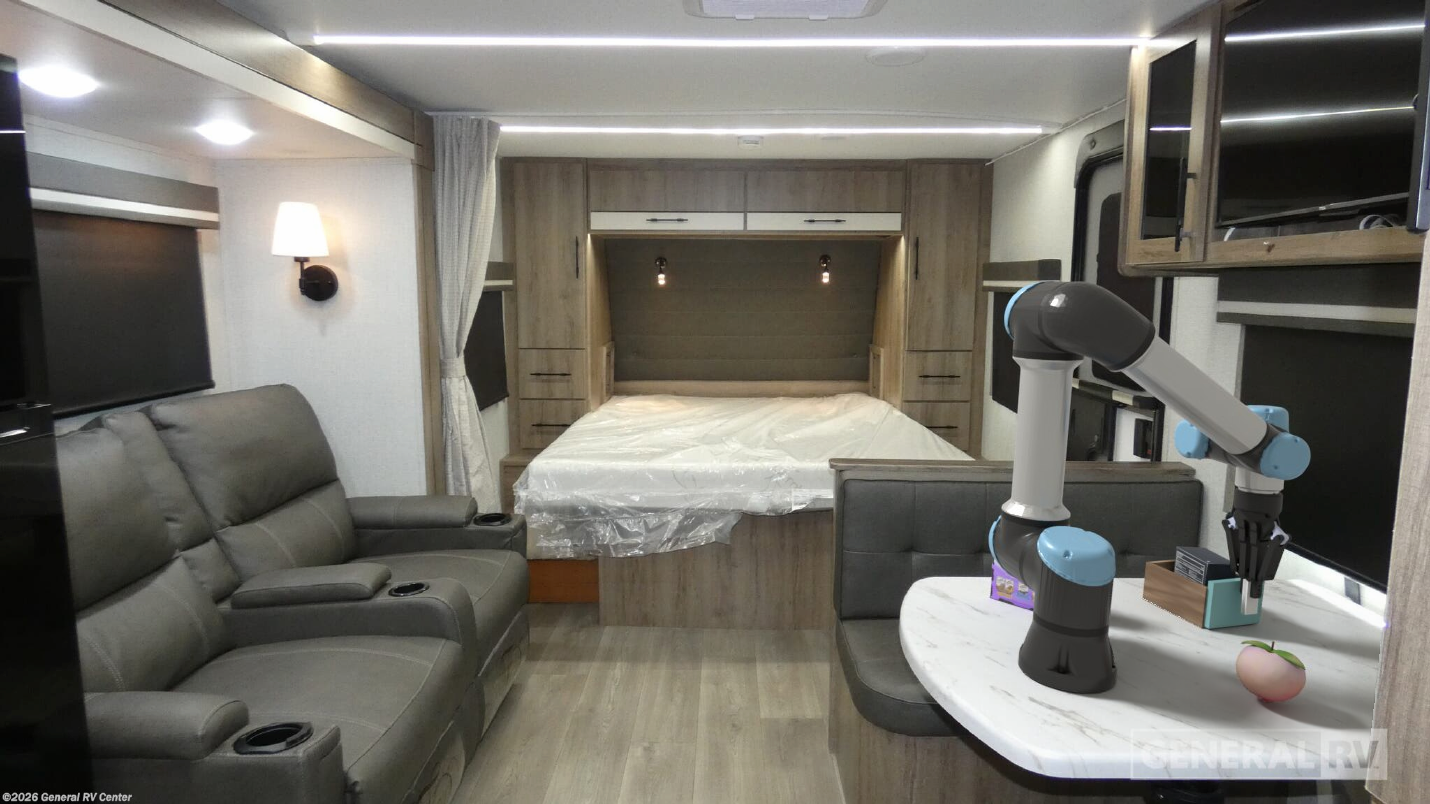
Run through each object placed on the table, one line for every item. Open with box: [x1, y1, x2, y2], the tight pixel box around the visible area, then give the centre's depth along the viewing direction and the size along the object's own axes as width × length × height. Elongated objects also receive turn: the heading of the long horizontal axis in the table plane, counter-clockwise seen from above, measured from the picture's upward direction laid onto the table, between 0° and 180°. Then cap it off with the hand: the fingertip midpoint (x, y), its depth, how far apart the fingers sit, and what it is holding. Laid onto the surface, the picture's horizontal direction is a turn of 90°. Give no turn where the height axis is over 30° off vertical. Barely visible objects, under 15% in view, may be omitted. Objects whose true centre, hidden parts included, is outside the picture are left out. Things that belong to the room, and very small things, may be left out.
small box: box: [1174, 545, 1237, 587], centre depth 162 cm, size 11×6×10 cm, turn 1°
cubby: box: [1142, 559, 1240, 629], centre depth 163 cm, size 13×15×8 cm
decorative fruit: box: [1235, 639, 1307, 703], centre depth 127 cm, size 9×8×10 cm
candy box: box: [989, 556, 1035, 611], centre depth 164 cm, size 14×6×16 cm, turn 44°
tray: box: [1204, 578, 1266, 629], centre depth 162 cm, size 12×15×9 cm
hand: (1248, 613), depth 153 cm, fingers closed
